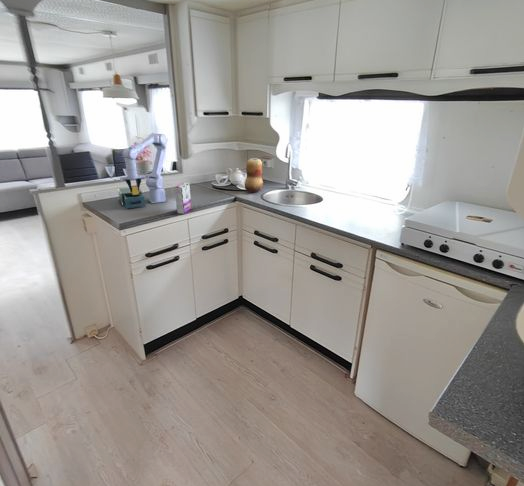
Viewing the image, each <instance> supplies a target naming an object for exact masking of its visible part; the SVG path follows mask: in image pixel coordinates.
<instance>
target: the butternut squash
mask: <svg viewBox="0 0 524 486" xmlns="http://www.w3.org/2000/svg"><path fill="white" fill-rule="evenodd" d="M245 171H246V172H245V173H246V178H245V181H244V189H245V190H246V192H248V193H253V194H255V193H259V192H260V191H261V190H262V189H263V187H264V181H263V178H262V175H263V162H262V160H261V159H259V158H257V157H255V158H254V157H251V158H249V159H248V160H247V161H246V166H245Z"/></svg>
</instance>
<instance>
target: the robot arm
mask: <svg viewBox="0 0 524 486" xmlns="http://www.w3.org/2000/svg"><path fill="white" fill-rule="evenodd" d="M168 141H169V140H168V136H167V135H166V134H165V133H155V132H152V133H150V134H148V135H147V137H146V138H144V139H143V140H142V141H141V142H134V144H133V145H131V146H129V147H128V148H124V149H123V150H122V153H121V156H122V157H123V159H124V161H125V169H126V175H127V176H121V177H119V182H125V183H126V184H127V186H128V188H130V191H131V192H132V188H131V186H132V182H131V181H135V184H136V186H137V187H138V192H139V189H140V186H141V183H142V180H145V184H146V186H147V187H148V190H149V199H148V201H149V202H150V203H151V204H157V203H158V204H159V203H166V202H167V200H166V191H165V188H164V187H163V185H164V182H163V180H164V177H163V176H162V175H161V174H162V169H163V166H164V162H165V157H166V152H167V144H168ZM150 145H153V146H154V147H155V149H156V153H155V157H154V160H153V161H154V162H153V166H152V170H151V173H149V174H148V176H147V178H146V175H139V174H138V169H137V162H136V161H137V160H136V159H137V158H138V155H140V154H141V153H143V152H144V150H145V148H147V147H148V146H150Z"/></svg>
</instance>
